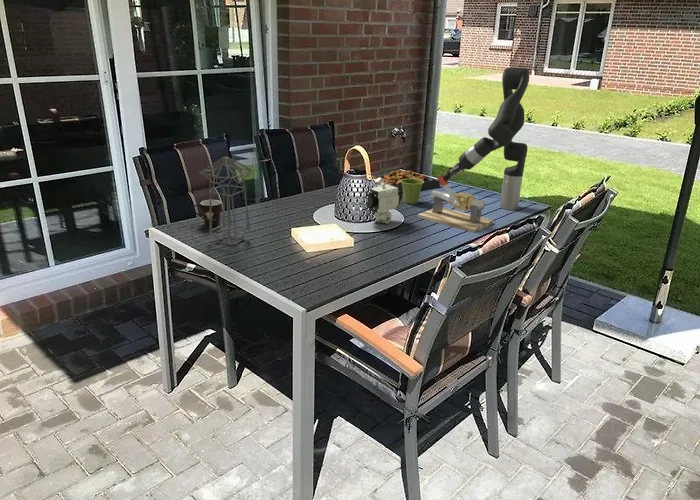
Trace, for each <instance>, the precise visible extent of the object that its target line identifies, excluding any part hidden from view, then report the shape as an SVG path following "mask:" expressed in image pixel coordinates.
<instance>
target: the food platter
mask: <svg viewBox="0 0 700 500" xmlns="http://www.w3.org/2000/svg"><path fill="white" fill-rule="evenodd" d="M370 175H372V177H373V180H374V181H375V183H376V186H382V184H385V185H389V184H390V185H393V186H395V187H398V188H400V191H401V193H402V194H403V187H402V182H401V180H402V179H418V180H422V181H424V183H423V184H422V187H421V191H423V190H430V189H431V190H432V189H436V188H441V184H440V182H439V181H438V179H437V178H433V177H431V176H428V175H426V174H424V173H423V174H422V173H419V172H416V171H412V170H411V169H408V170H407V169H405V170H401V169H398V170H397V171H396V170H391V171H390V172H389V174H383V175H374V174H373V172H372V171H371V174H370Z"/></svg>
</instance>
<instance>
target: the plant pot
mask: <svg viewBox="0 0 700 500" xmlns="http://www.w3.org/2000/svg"><path fill="white" fill-rule="evenodd" d="M401 182H402V187H403V193H402V199H403V202H404V203H405V204H412V205H415V204H418V203H419V198H420V194H421V191H422V190H421V187H422V184H423V183H424V181H422V180H418V179H402V180H401Z"/></svg>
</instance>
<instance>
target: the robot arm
mask: <svg viewBox="0 0 700 500" xmlns="http://www.w3.org/2000/svg"><path fill="white" fill-rule="evenodd" d="M501 82H502V83H501V86H502V94H503V100H502V103H501V104H500V106H499V109H498V111H497V115H496V117H495V119H494V120H493V121H492V123H491V125H490V126H488V129H487V134H488V136H489V137H490V138H489V137H487V136H483V137H482V138H480V139H479V140H478V141H477V142H475V144H473V145H472V146H470V147H469V148H468V149H466V150H465V151H464V152H462V153H461V154H460V155H459V156H458V161H459V162H456V163H455V164H454V165H453V166H451V167H449V169H448V170H447V172H446V173H447V174H445V175H444V177H443V179H444V180H445V181H447V182H448V181H449V180H450V179H451V178H453V177H455V176H457V175H459V174H460V173H462V172H464V171H465V170H472V169H473V168H474V167H476V165H478V164H479V163H480V162H482V161H483V159H484V158H486V157H487V156H488V155H489V154H490V153H491V152H493V151H496V150H499V149H501V148H502V147H503V158H504V160H506V161H510V162H517V164H515V165H512V166H507V167H506V168H504V171H503V178H502V185H501V193H500V200H499V208H500V209H503V210H508V211H513V210H514V211H515V210H518V209H519V204H520V203H519V202H520V196H521V190H522V182H523V177H524V172H525V171H524V170H525V165H526V159H527V154H528V144H527V143H523V142H517V141H513V139H514V137H515V136H516V135H517V134H518V132H519V131H520V130H522V128H523V126H524V125H525V109H524V106H523V105H522V104H521V100H522V99H523V97H524V95H525V93H526V90H527V89H528V86H529V82H530V70H529V69H528V68H526V67H525V68H524V67H506V68H504V70H503V72H502V77H501ZM513 90H514V91H513ZM491 138H492V139H491Z"/></svg>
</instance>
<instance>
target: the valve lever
mask: <svg viewBox="0 0 700 500" xmlns="http://www.w3.org/2000/svg"><path fill="white" fill-rule="evenodd" d="M444 176H445V175H444V174H443V173H442V174H440V175H439V176H437V177H436V179H437V180H438V181H439V182H440V186H441V188H443V189H444V191H445V192H446V193H448V195H449V197H450V198H451V200H452V202H453V205H454V207H459V206H460V202H459V201H458V200H457V199H456V197H455V195H454V194H453V193H454V192H453V190H452V189H451V188H450V185H449V182H448V181H445V180H444V179H443V177H444ZM453 205H452V206H453Z"/></svg>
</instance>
